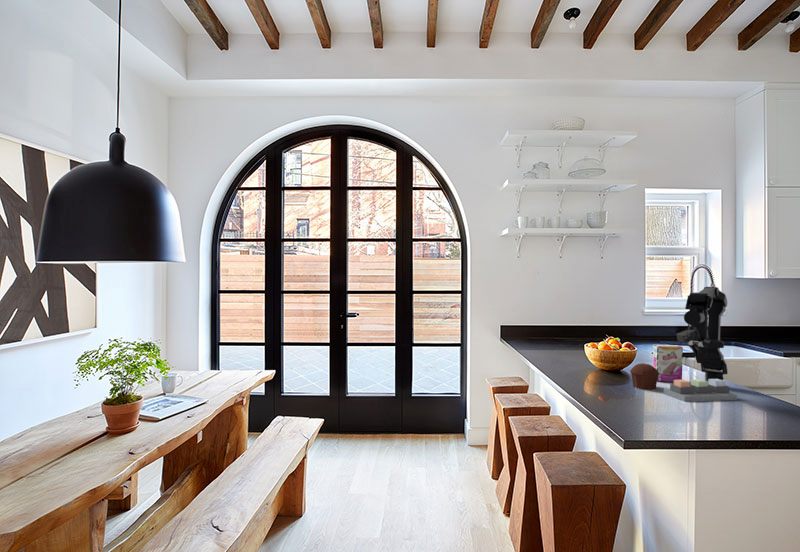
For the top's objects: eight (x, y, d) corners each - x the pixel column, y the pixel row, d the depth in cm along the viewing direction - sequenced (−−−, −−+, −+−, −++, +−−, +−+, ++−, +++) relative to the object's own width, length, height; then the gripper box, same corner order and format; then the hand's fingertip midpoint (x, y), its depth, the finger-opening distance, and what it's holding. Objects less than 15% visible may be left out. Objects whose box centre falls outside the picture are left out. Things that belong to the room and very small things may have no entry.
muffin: (663, 391, 194) (663, 367, 194) (634, 390, 196) (634, 366, 196) (653, 384, 206) (653, 362, 206) (626, 383, 208) (626, 361, 208)
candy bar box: (657, 382, 211) (657, 346, 211) (652, 379, 216) (652, 344, 216) (683, 382, 210) (683, 346, 210) (677, 380, 215) (677, 344, 215)
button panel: (663, 393, 190) (663, 382, 190) (713, 392, 192) (713, 381, 192) (684, 401, 178) (684, 389, 178) (737, 399, 180) (737, 388, 180)
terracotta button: (673, 387, 186) (673, 379, 186) (683, 387, 187) (683, 379, 187) (680, 389, 182) (680, 382, 182) (690, 389, 183) (690, 381, 183)
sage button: (691, 386, 187) (691, 379, 187) (700, 386, 187) (700, 379, 187) (698, 389, 183) (698, 381, 183) (707, 388, 183) (707, 381, 184)
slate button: (708, 386, 188) (708, 379, 188) (717, 386, 188) (717, 378, 188) (716, 388, 184) (716, 381, 184) (725, 388, 184) (725, 380, 184)
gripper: (664, 321, 194) (664, 359, 194) (697, 326, 176) (697, 367, 176) (689, 322, 195) (689, 359, 195) (725, 326, 177) (724, 367, 177)
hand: (699, 363), depth 186 cm, fingers closed
